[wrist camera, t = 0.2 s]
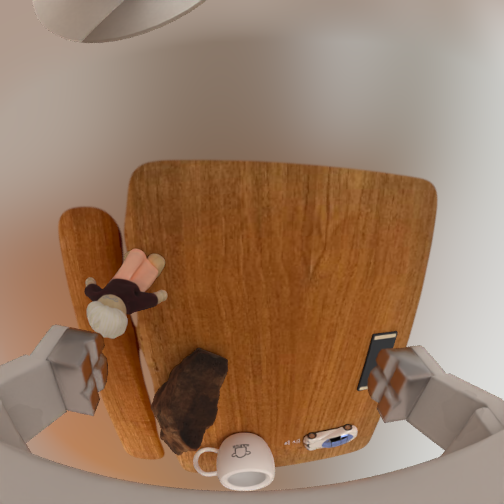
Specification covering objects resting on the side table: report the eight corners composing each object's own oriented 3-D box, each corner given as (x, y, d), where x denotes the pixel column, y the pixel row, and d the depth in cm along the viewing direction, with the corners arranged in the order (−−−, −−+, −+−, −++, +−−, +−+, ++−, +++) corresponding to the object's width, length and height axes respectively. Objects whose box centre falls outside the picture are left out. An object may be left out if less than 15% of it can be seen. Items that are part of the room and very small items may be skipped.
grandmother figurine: (172, 244, 31) (146, 304, 19) (175, 279, 32) (155, 351, 20) (103, 247, 30) (48, 302, 18) (108, 280, 32) (62, 346, 20)
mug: (269, 423, 41) (278, 464, 34) (269, 452, 44) (276, 489, 37) (189, 428, 40) (187, 470, 33) (197, 457, 43) (197, 495, 36)
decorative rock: (184, 409, 39) (180, 471, 29) (146, 390, 37) (133, 452, 27) (236, 357, 36) (243, 424, 26) (194, 333, 35) (188, 399, 25)
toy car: (284, 437, 43) (287, 449, 40) (355, 421, 44) (360, 432, 41) (285, 448, 44) (287, 460, 42) (353, 433, 45) (357, 444, 42)
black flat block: (372, 334, 38) (374, 335, 37) (396, 331, 38) (397, 332, 38) (356, 389, 41) (357, 391, 40) (378, 385, 41) (380, 387, 41)
